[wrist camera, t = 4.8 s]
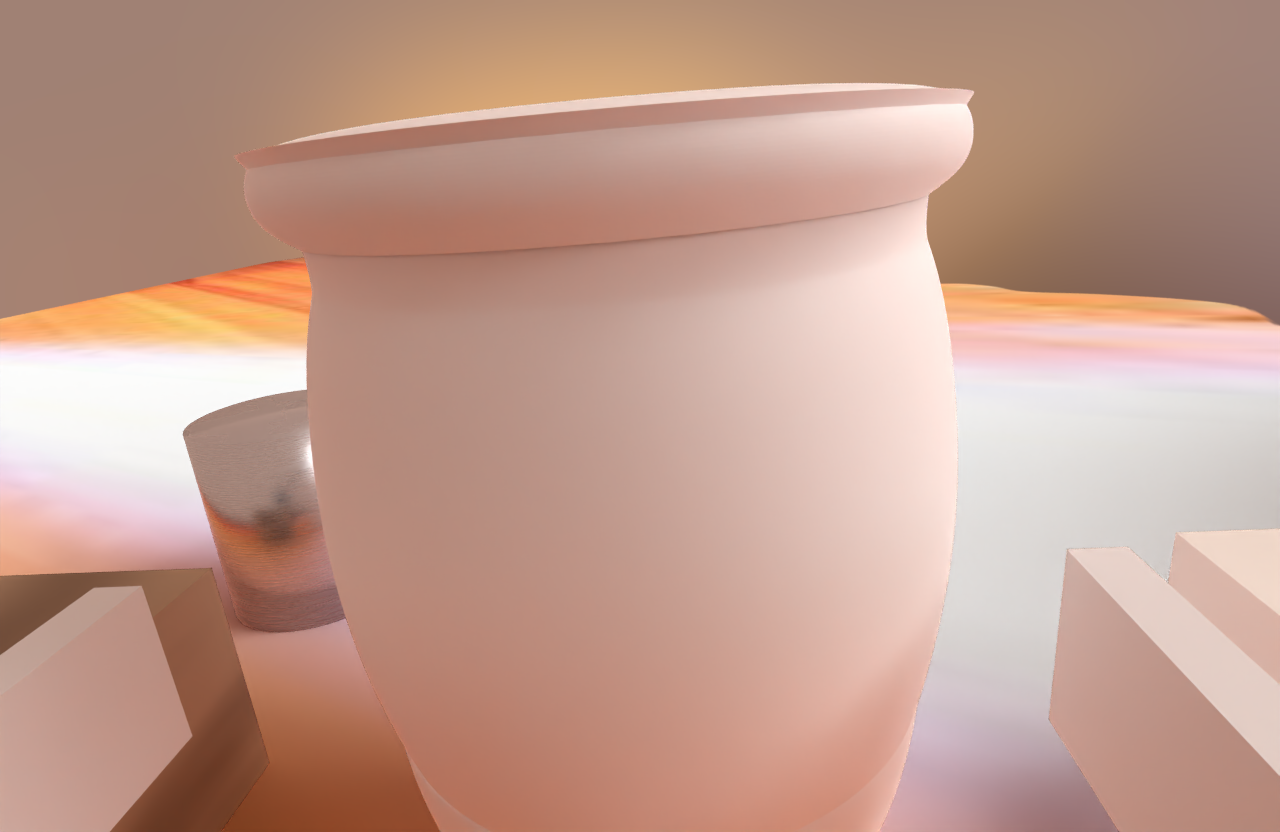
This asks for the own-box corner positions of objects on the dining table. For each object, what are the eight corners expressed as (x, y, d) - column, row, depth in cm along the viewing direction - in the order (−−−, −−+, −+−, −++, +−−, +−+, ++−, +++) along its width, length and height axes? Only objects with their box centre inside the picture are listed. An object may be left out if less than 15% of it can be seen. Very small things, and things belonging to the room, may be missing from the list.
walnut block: (270, 765, 20) (211, 568, 18) (104, 1000, 15) (-5, 751, 13) (64, 767, 21) (-14, 576, 19) (-172, 994, 15) (-316, 755, 13)
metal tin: (428, 582, 29) (393, 406, 26) (261, 654, 25) (205, 458, 23) (367, 533, 33) (333, 379, 31) (218, 589, 30) (167, 420, 27)
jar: (928, 1306, 10) (1012, 28, 5) (310, 1040, 14) (21, 158, 9) (936, 736, 19) (968, 95, 14) (568, 671, 23) (496, 144, 18)
